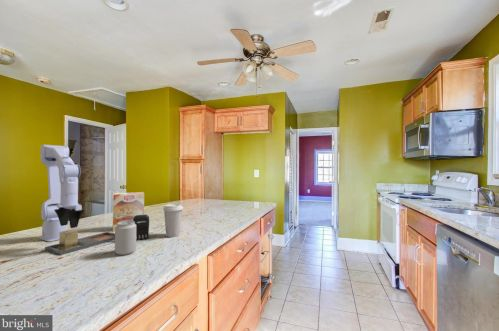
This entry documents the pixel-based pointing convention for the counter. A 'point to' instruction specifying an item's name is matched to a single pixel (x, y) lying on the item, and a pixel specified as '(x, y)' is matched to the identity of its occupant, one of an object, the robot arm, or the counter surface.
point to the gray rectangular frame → (84, 243)
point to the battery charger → (141, 226)
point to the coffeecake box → (127, 206)
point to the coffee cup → (173, 219)
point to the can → (125, 237)
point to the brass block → (68, 239)
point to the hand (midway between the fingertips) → (68, 226)
